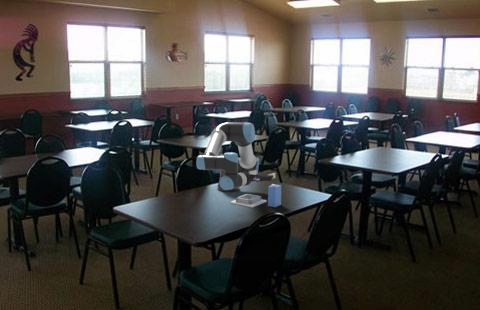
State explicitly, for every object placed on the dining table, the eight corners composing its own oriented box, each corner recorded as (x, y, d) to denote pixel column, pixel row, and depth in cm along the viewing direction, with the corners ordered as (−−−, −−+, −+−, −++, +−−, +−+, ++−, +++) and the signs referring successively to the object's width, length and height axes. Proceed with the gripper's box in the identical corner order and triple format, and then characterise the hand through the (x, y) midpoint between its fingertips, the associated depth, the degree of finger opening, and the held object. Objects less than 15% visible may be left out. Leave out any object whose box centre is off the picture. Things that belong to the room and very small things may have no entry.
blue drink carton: (273, 203, 303) (274, 182, 300) (280, 204, 300) (281, 183, 298) (267, 205, 297) (268, 184, 295) (275, 207, 294) (275, 185, 292)
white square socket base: (244, 197, 315) (244, 192, 314) (266, 201, 306) (266, 196, 306) (230, 203, 302) (230, 197, 301) (252, 207, 293) (252, 201, 292)
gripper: (225, 182, 280) (248, 177, 296) (260, 189, 264) (282, 183, 280) (225, 169, 278) (248, 165, 295) (260, 175, 263) (283, 170, 279)
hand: (265, 173), depth 287 cm, fingers open, 13 cm apart
